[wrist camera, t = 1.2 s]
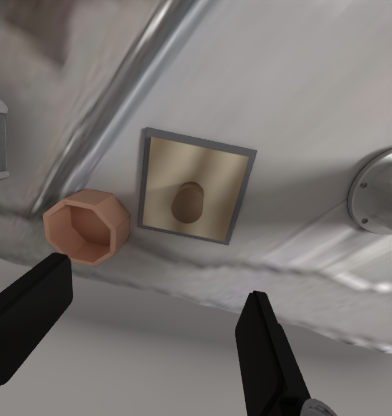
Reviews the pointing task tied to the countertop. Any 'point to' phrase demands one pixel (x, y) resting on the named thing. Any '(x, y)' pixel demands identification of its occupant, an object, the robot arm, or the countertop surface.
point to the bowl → (87, 226)
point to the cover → (191, 188)
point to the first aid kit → (3, 142)
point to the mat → (201, 143)
